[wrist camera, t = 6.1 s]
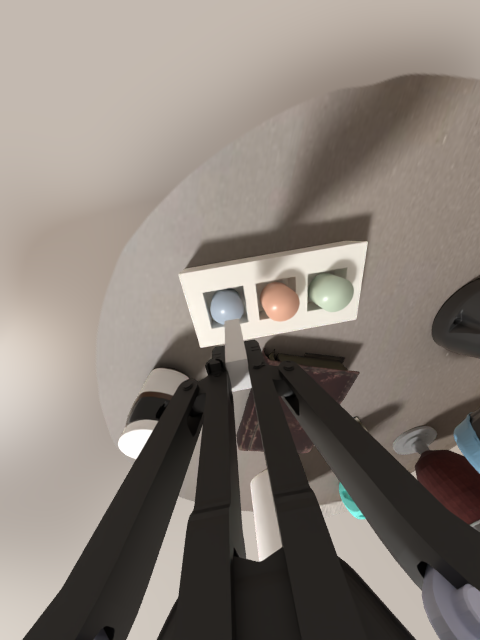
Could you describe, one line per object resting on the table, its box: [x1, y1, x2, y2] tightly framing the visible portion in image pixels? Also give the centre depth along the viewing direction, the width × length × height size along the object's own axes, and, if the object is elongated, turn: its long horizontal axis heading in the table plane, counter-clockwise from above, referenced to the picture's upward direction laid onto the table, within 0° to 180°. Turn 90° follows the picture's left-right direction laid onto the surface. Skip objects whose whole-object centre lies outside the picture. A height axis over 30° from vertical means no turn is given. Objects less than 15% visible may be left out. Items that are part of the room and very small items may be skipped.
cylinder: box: [250, 470, 282, 562], centre depth 42 cm, size 17×17×28 cm
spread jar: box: [118, 367, 189, 459], centre depth 30 cm, size 12×11×12 cm
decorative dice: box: [339, 482, 366, 519], centre depth 55 cm, size 8×8×8 cm
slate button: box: [210, 288, 244, 325], centre depth 25 cm, size 4×4×3 cm
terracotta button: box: [260, 282, 300, 322], centre depth 24 cm, size 4×4×3 cm
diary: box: [237, 347, 360, 453], centre depth 38 cm, size 19×25×5 cm
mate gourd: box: [393, 426, 480, 532], centre depth 43 cm, size 16×14×20 cm
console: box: [178, 241, 368, 348], centre depth 26 cm, size 24×11×4 cm, turn 99°
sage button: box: [308, 273, 354, 312], centre depth 24 cm, size 4×4×3 cm
